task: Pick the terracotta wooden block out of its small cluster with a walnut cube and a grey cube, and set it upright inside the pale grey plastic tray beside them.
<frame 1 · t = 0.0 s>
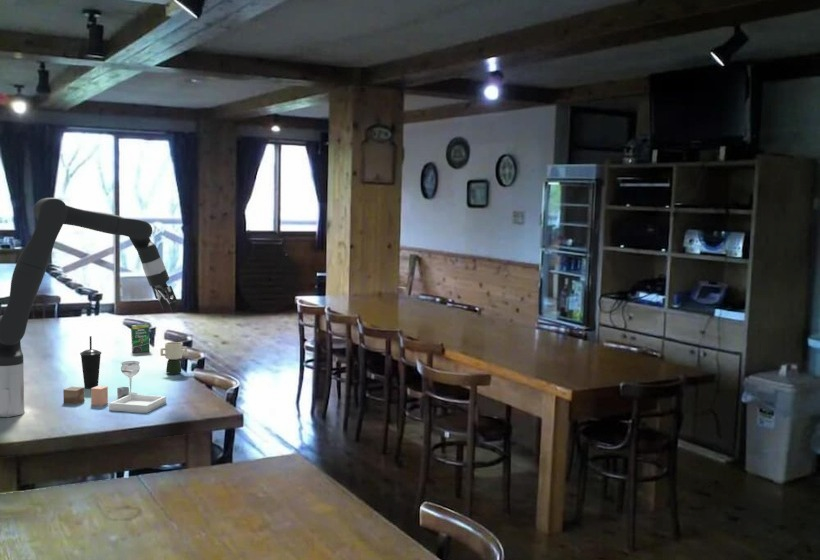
hand: (170, 310, 302), 31 cm above the table, tool tilted 20°, fingers open, 8 cm apart
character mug: (173, 374, 337), on the table
walnut cube: (74, 402, 286), on the table
grey cube: (123, 398, 292), on the table
tray: (138, 406, 282), on the table
drinking cup: (91, 387, 309), on the table
coffee box: (140, 352, 383), on the table
wineglass: (130, 394, 299), on the table
terracotta block: (99, 404, 284), on the table
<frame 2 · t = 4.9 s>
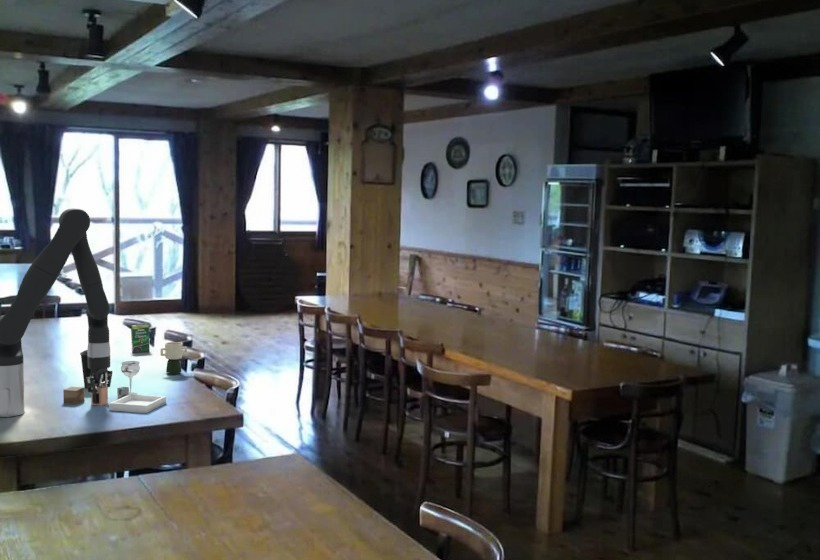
hand: (99, 401, 284), 1 cm above the table, tool pointing down, fingers closed on terracotta block, 4 cm apart
terracotta block: (99, 403, 284), on the table, touching gripper
everything else where it was.
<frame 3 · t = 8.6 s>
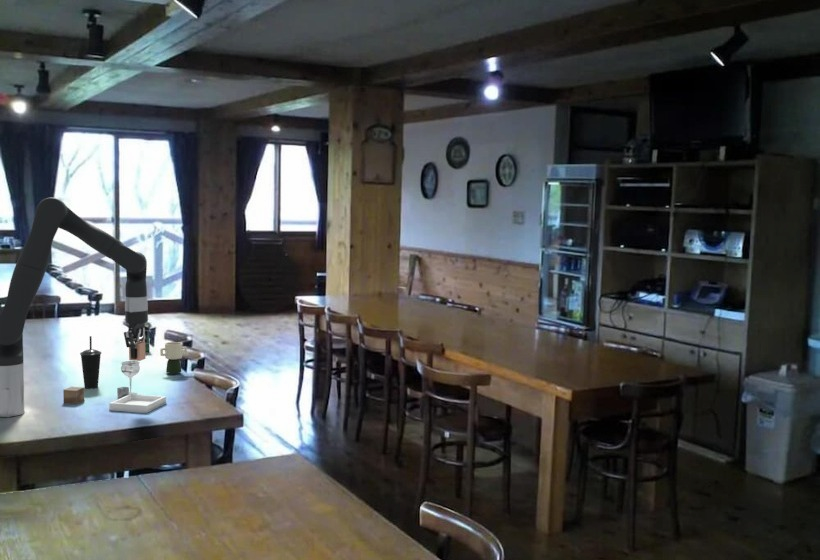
hand: (137, 357, 280), 18 cm above the table, tool pointing down, fingers closed on terracotta block, 4 cm apart
terracotta block: (137, 359, 281), point 17 cm above the table, touching gripper
everything else where it was.
when the fingers open (3 cm above the table, at t = 12.2 s): terracotta block drops 1 cm, resting on tray.
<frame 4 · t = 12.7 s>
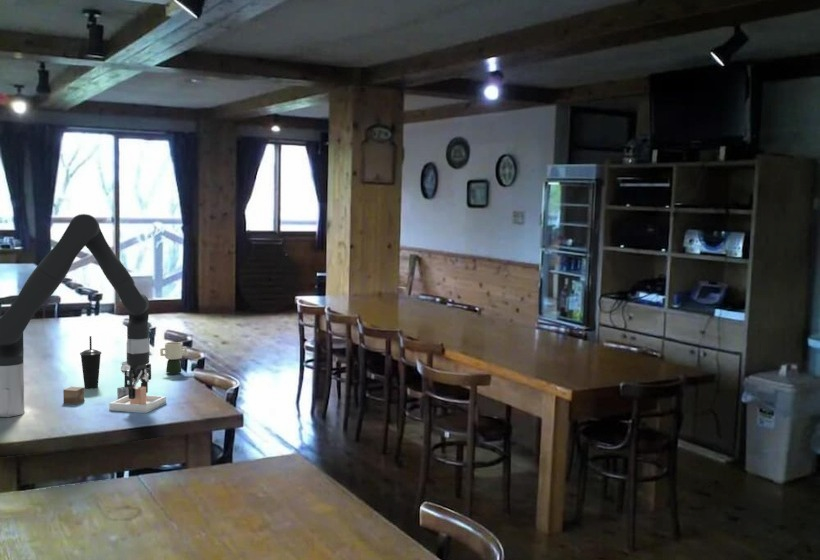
hand: (138, 395, 281), 4 cm above the table, tool pointing down, fingers open, 8 cm apart
terracotta block: (138, 404, 282), point 1 cm above the table, touching tray
everything else where it was.
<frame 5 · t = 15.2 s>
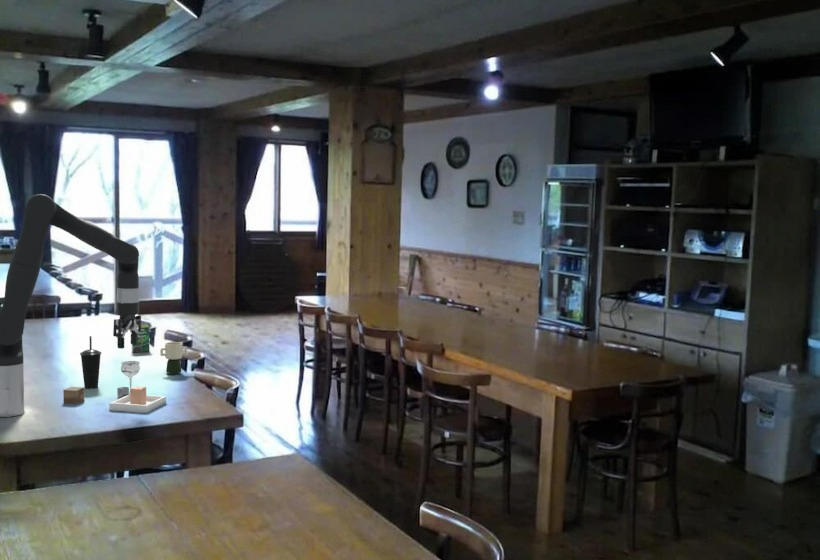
hand: (127, 346, 281), 21 cm above the table, tool pointing down, fingers open, 8 cm apart
nothing on the table moved.
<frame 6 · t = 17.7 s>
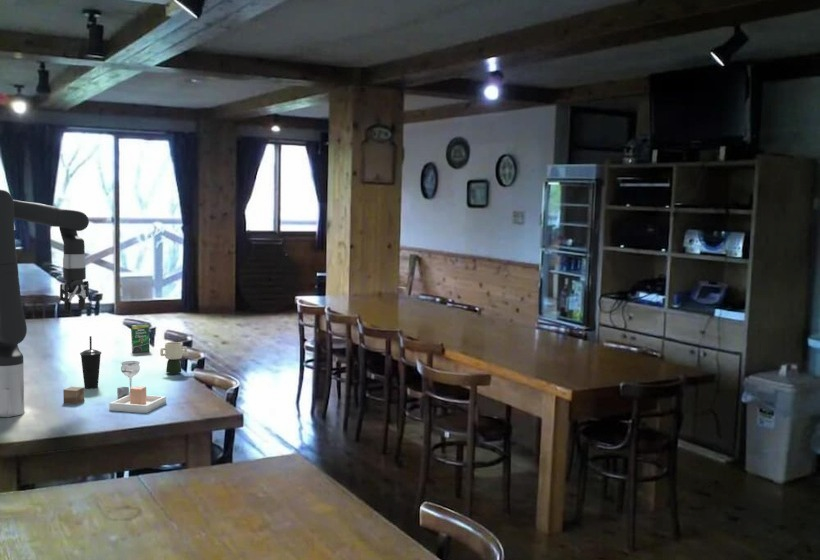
hand: (75, 310, 289), 32 cm above the table, tool pointing down, fingers open, 8 cm apart
nothing on the table moved.
at the end: terracotta block inside the target area on the tray (0.0 cm from its centre), point 0.8 cm above the tray's base; terracotta block tilted 0°; the gripper is holding nothing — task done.
